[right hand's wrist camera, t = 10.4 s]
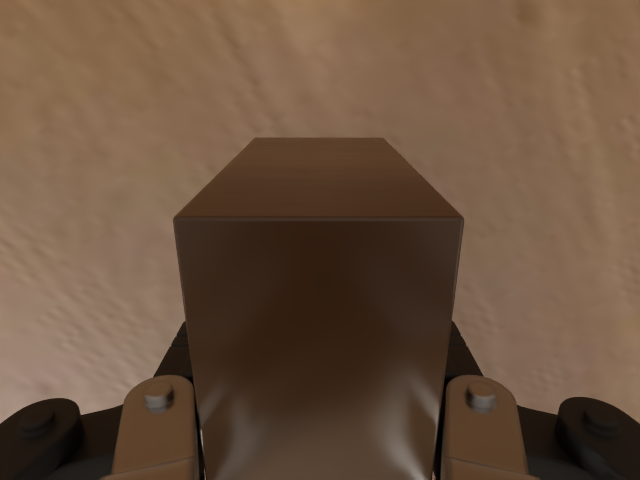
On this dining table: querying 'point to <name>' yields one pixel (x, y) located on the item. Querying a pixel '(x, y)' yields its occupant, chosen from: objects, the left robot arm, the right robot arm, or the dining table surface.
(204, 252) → the post
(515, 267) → the dining table surface
